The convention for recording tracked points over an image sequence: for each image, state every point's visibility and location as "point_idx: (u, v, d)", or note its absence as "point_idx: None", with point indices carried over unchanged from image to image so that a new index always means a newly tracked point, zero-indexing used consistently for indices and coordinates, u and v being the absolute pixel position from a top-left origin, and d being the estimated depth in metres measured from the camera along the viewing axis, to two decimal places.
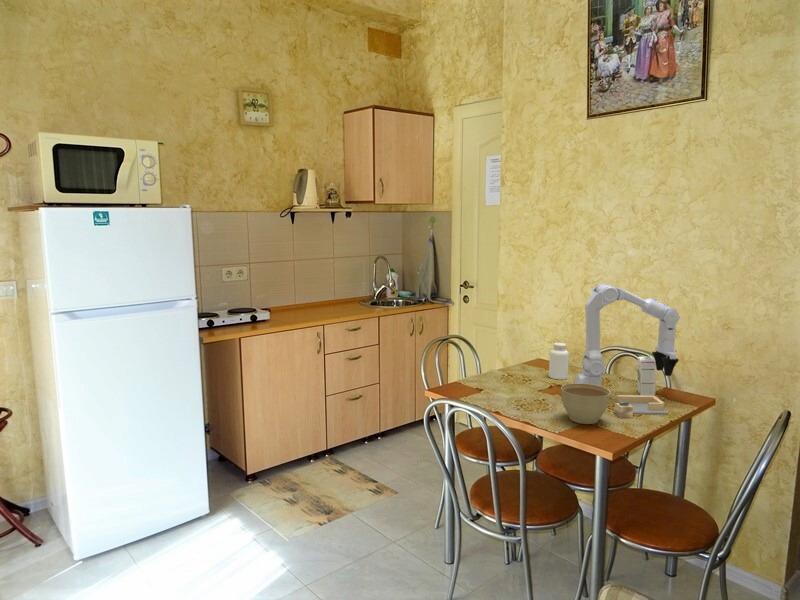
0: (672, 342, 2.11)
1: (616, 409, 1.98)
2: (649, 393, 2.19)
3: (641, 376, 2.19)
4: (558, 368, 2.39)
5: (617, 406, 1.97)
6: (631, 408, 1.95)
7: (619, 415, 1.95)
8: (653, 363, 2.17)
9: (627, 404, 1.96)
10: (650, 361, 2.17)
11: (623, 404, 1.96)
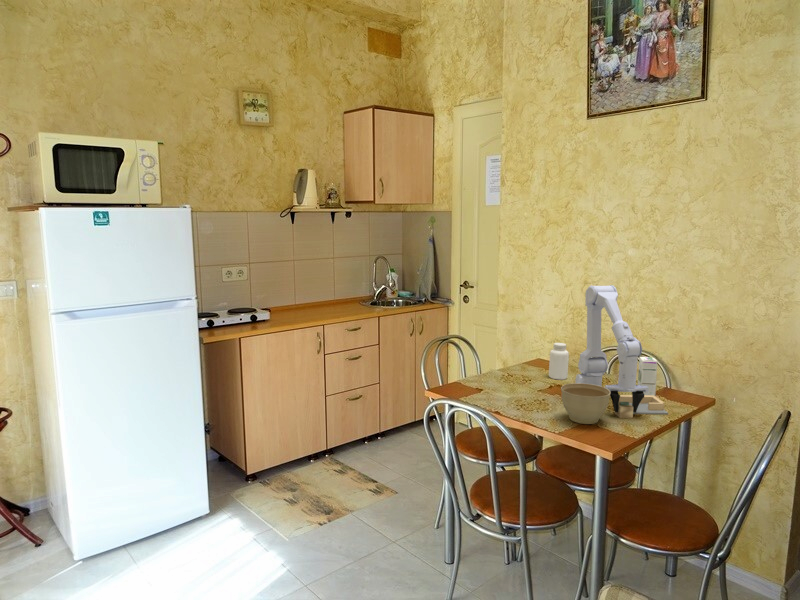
0: (621, 377, 1.94)
1: None
2: (649, 393, 2.19)
3: (642, 376, 2.18)
4: (558, 368, 2.39)
5: None
6: (631, 408, 1.95)
7: (619, 415, 1.95)
8: (655, 364, 2.17)
9: (627, 404, 1.96)
10: (652, 362, 2.17)
11: (623, 404, 1.96)
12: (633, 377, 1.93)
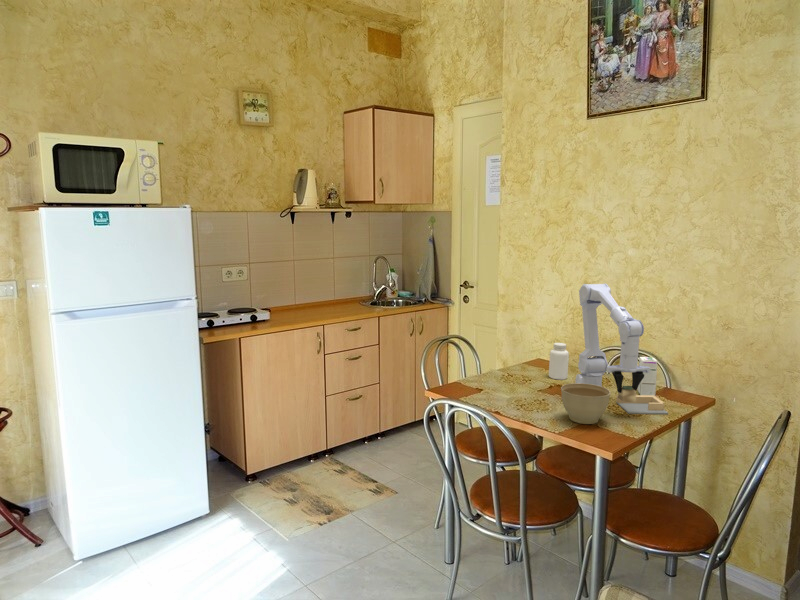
0: (623, 358, 1.93)
1: (619, 393, 1.97)
2: (649, 393, 2.19)
3: None
4: (558, 368, 2.39)
5: None
6: (634, 392, 1.94)
7: (622, 399, 1.95)
8: (655, 364, 2.17)
9: (630, 388, 1.95)
10: (652, 362, 2.17)
11: (626, 388, 1.95)
12: (635, 357, 1.92)
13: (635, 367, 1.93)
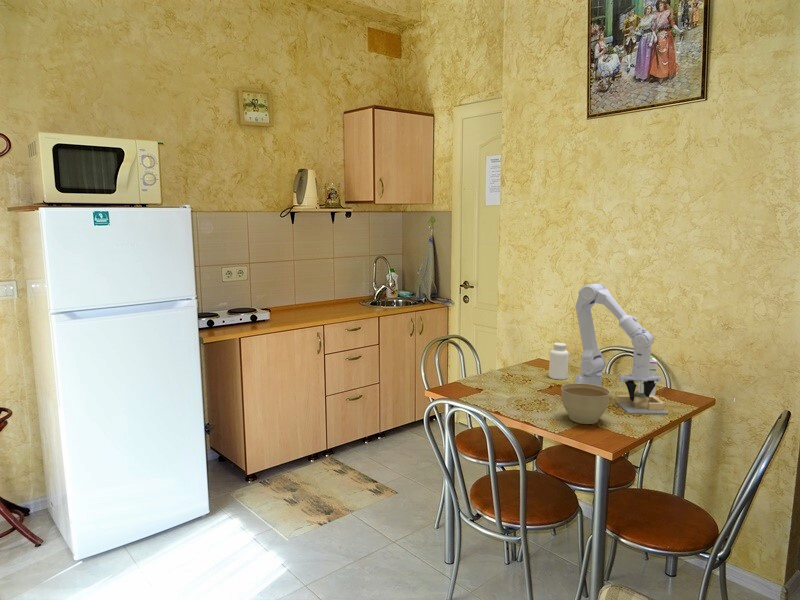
0: (635, 368, 2.02)
1: None
2: None
3: None
4: (558, 368, 2.39)
5: None
6: (646, 399, 2.02)
7: (635, 405, 2.03)
8: (655, 364, 2.17)
9: (643, 395, 2.04)
10: (652, 362, 2.17)
11: (639, 395, 2.04)
12: (647, 367, 2.01)
13: (647, 376, 2.02)
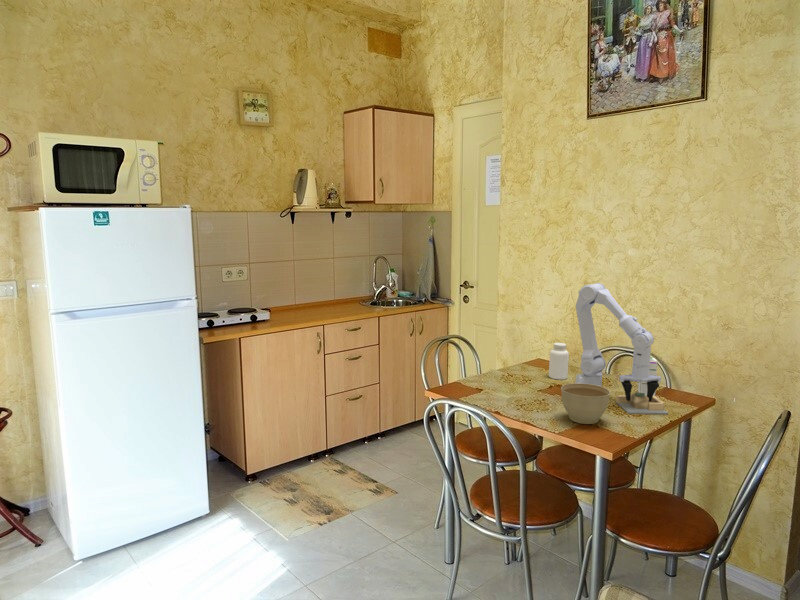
0: (635, 368, 2.02)
1: (632, 400, 2.06)
2: None
3: None
4: (558, 368, 2.39)
5: (633, 397, 2.05)
6: (646, 399, 2.02)
7: (635, 405, 2.03)
8: (655, 364, 2.17)
9: (643, 395, 2.04)
10: (652, 362, 2.17)
11: (639, 395, 2.04)
12: (647, 367, 2.01)
13: (647, 376, 2.02)
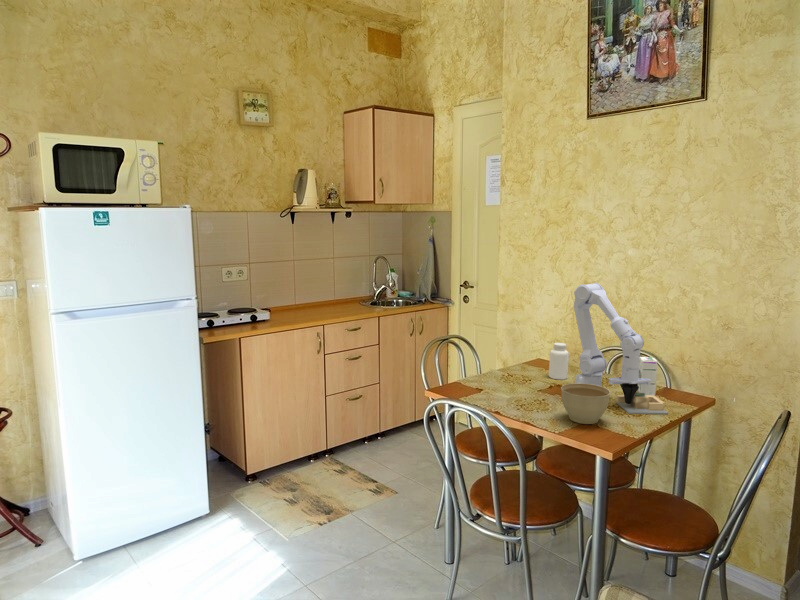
0: (624, 370, 2.03)
1: (632, 400, 2.06)
2: (649, 393, 2.19)
3: (642, 376, 2.18)
4: (558, 368, 2.39)
5: (633, 397, 2.05)
6: (646, 399, 2.02)
7: (635, 405, 2.03)
8: (655, 364, 2.17)
9: (643, 395, 2.04)
10: (652, 362, 2.17)
11: (639, 395, 2.04)
12: (636, 370, 2.01)
13: (636, 379, 2.02)
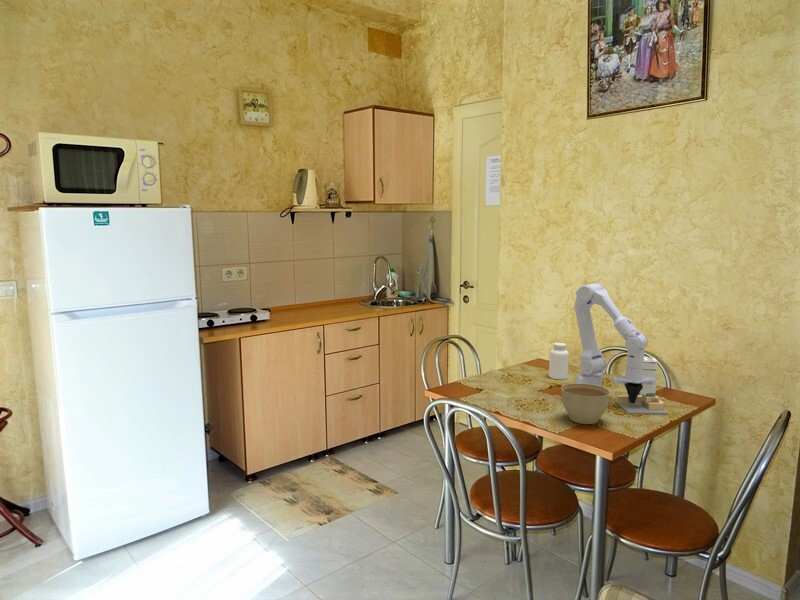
0: (628, 370, 2.03)
1: (643, 400, 2.06)
2: None
3: None
4: (558, 368, 2.39)
5: (644, 397, 2.05)
6: (657, 399, 2.02)
7: (645, 405, 2.03)
8: (655, 364, 2.17)
9: (654, 395, 2.04)
10: (652, 362, 2.17)
11: (650, 395, 2.04)
12: (640, 369, 2.01)
13: (640, 379, 2.02)
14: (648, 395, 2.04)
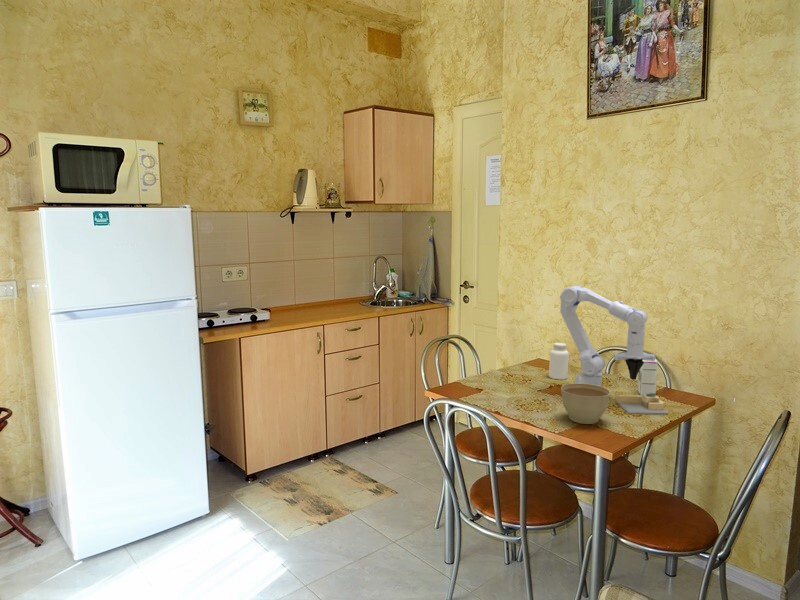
0: (629, 346, 2.05)
1: (643, 400, 2.06)
2: None
3: (642, 376, 2.18)
4: (558, 368, 2.39)
5: (644, 397, 2.05)
6: (657, 399, 2.02)
7: (645, 405, 2.03)
8: (655, 364, 2.17)
9: (654, 395, 2.04)
10: (652, 362, 2.17)
11: (650, 395, 2.04)
12: (641, 345, 2.03)
13: (641, 355, 2.04)
14: (648, 395, 2.04)
